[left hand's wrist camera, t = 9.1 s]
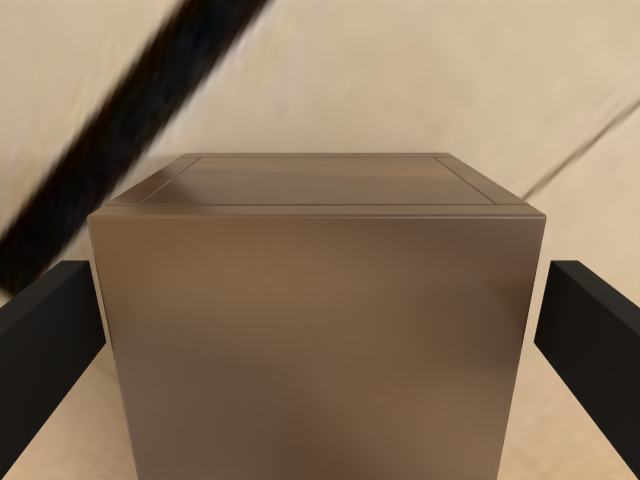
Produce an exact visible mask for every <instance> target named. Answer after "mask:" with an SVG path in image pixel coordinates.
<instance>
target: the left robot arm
mask: <svg viewBox="0 0 640 480" xmlns="http://www.w3.org/2000/svg"><path fill="white" fill-rule="evenodd" d="M105 343H106V338H105V334H104V329H103V324H102V319H101V315H100V310H99V305H98V301H97V296H96V291H95V286H94V282H93V277H92V272H91V268H90V263H89V261H61V262H59V263H58V264H57V265H56V266H54V267H53V268H52V269H50V270H49V271H48V272H46V273H45V274H44V275H43V276H41V277H40V278H39V279H37V280H36V281H35V282H33V283H32V284H31V285H29V286H28V287H27V288H26V289H24V290H23V291H22V292H20V293H19V294H18V295H16V296H15V297H14V298H13V299H11V300H10V301H9V302H7V303H6V304H5V305H3V306H2V307H1V308H0V480H2V478H3V477H4V476H5V474H6V473H7V472H8V471H9V469H10V468H11V467H12V465H13V464H14V463H15V461H16V460H17V459H18V457H19V456H20V455H21V454H22V452H23V451H24V450H25V448H26V447H27V446H28V444H29V443H30V442H31V440H32V439H33V438H34V436H35V435H36V434H37V433H38V431H39V430H40V429H41V427H42V426H43V425H44V423H45V422H46V421H47V419H48V418H49V417H50V416H51V414H52V413H53V412H54V410H55V409H56V408H57V406H58V405H59V404H60V402H61V401H62V400H63V398H64V397H65V396H66V395H67V393H68V392H69V391H70V389H71V388H72V387H73V385H74V384H75V383H76V381H77V380H78V379H79V377H80V376H81V375H82V374H83V372H84V371H85V370H86V368H87V367H88V366H89V364H90V363H91V362H92V360H93V359H94V358H95V357H96V355H97V354H98V353H99V351H100V350H101V349H102V347H103V346H104V345H105ZM534 343H535V345H536V346H537V347H538V349H539V350H540V351H541V353H542V354H543V355H544V357H545V358H546V359H547V360H548V362H549V363H550V364H551V366H552V367H553V368H554V370H555V371H556V372H557V374H558V375H559V376H560V377H561V379H562V380H563V381H564V383H565V384H566V385H567V387H568V388H569V389H570V391H571V392H572V393H573V395H574V396H575V397H576V398H577V400H578V401H579V402H580V404H581V405H582V406H583V408H584V409H585V410H586V412H587V413H588V414H589V416H590V417H591V418H592V419H593V421H594V422H595V423H596V425H597V426H598V427H599V429H600V430H601V431H602V433H603V434H604V435H605V436H606V438H607V439H608V440H609V442H610V443H611V444H612V446H613V447H614V448H615V450H616V451H617V452H618V454H619V455H620V456H621V457H622V459H623V460H624V461H625V463H626V464H627V465H628V467H629V468H630V469H631V471H632V472H633V473H634V474H635V476H636V477H637V478H638V480H640V308H639V307H638V306H637V305H635V304H634V303H633V302H631V301H630V300H629V299H627V298H626V297H625V296H624V295H622V294H621V293H620V292H618V291H617V290H616V289H614V288H613V287H612V286H611V285H609V284H608V283H607V282H605V281H604V280H603V279H601V278H600V277H599V276H597V275H596V274H595V273H594V272H592V271H591V270H590V269H588V268H587V267H586V266H584V265H583V264H582V263H581V262H579V261H551V263H550V268H549V272H548V277H547V282H546V286H545V291H544V296H543V301H542V305H541V310H540V315H539V319H538V324H537V329H536V334H535V338H534Z"/></svg>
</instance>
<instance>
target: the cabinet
mask: <svg viewBox="0 0 640 480" xmlns="http://www.w3.org/2000/svg"><path fill="white" fill-rule="evenodd" d="M87 222H88V228H89V233H90V238H91V243H92V248H93V253H94V258H95V263H96V268H97V273H98V278H99V283H100V288H101V293H102V298H103V303H104V308H105V313H106V319H107V324H108V329H109V334H110V339H111V344H112V349H113V354H114V359H115V364H116V369H117V374H118V379H119V384H120V389H121V394H122V399H123V404H124V410H125V415H126V420H127V425H128V430H129V435H130V440H131V445H132V450H133V455H134V460H135V465H136V470H137V475H138V480H497V475H498V470H499V465H500V459H501V454H502V449H503V444H504V438H505V433H506V428H507V423H508V417H509V412H510V407H511V402H512V396H513V391H514V386H515V381H516V375H517V370H518V365H519V360H520V354H521V349H522V344H523V339H524V333H525V328H526V323H527V318H528V312H529V307H530V302H531V297H532V291H533V286H534V281H535V276H536V270H537V265H538V260H539V255H540V249H541V244H542V239H543V234H544V228H545V223H546V215H545V214H543V213H542V212H540V211H539V210H537V209H536V208H534V207H532V206H530V205H529V204H528V203H527V202H525V201H524V200H522V199H520V198H519V197H517V196H516V195H514V194H512V193H511V192H509V191H508V190H506V189H505V188H503V187H501V186H500V185H498V184H497V183H495V182H493V181H492V180H490V179H489V178H487V177H486V176H484V175H482V174H481V173H479V172H478V171H476V170H475V169H473V168H471V167H470V166H468V165H467V164H465V163H463V162H462V161H460V160H459V159H457V158H455V157H454V156H452V155H451V154H449V153H356V154H185V155H183V156H181V157H180V158H178V159H177V160H175V161H174V162H172V163H170V164H169V165H167V166H166V167H164V168H163V169H161V170H159V171H158V172H156V173H155V174H153V175H151V176H150V177H148V178H147V179H145V180H143V181H142V182H140V183H139V184H137V185H136V186H134V187H132V188H131V189H129V190H128V191H126V192H124V193H123V194H121V195H120V196H118V197H116V198H115V199H113V200H112V201H110V202H109V203H107V204H105V205H104V206H103V207H101V208H99V209H97V210H96V211H94V212H93V213H91V214H90V215H88V216H87Z"/></svg>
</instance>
